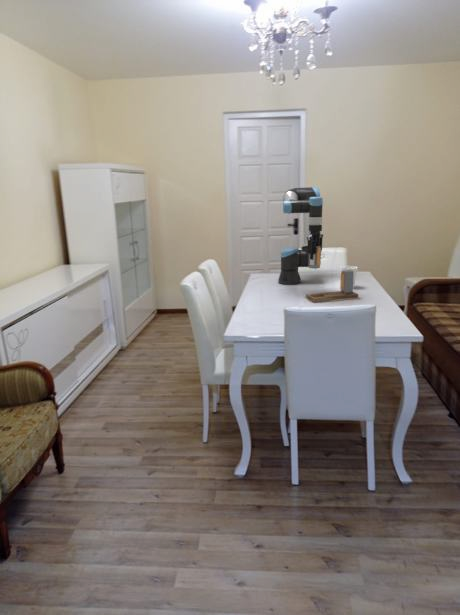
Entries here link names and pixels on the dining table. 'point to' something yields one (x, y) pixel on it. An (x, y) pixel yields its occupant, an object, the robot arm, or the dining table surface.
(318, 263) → the gray and orange block
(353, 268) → the foam cup
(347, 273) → the mounted finger
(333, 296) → the rail
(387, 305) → the dining table surface
